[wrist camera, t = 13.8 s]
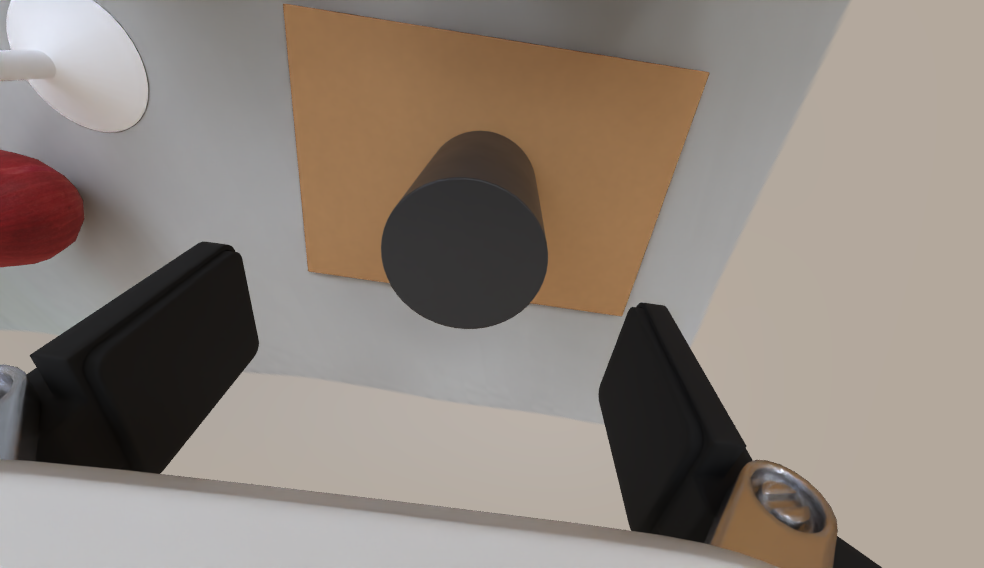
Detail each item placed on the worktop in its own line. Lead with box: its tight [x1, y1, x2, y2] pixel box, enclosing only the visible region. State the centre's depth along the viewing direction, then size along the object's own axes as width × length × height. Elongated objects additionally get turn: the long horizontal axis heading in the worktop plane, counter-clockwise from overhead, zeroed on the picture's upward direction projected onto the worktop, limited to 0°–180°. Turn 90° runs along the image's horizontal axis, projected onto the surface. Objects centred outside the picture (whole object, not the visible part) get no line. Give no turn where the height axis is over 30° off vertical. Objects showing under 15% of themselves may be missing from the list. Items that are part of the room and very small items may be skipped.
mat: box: [283, 4, 709, 316], centre depth 23 cm, size 20×14×1 cm
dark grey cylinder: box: [381, 131, 548, 329], centre depth 19 cm, size 6×6×9 cm
